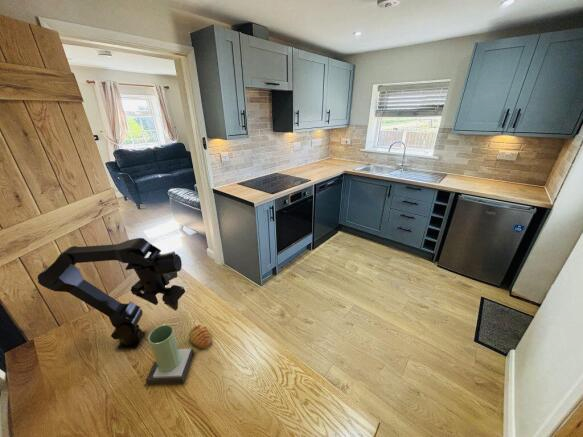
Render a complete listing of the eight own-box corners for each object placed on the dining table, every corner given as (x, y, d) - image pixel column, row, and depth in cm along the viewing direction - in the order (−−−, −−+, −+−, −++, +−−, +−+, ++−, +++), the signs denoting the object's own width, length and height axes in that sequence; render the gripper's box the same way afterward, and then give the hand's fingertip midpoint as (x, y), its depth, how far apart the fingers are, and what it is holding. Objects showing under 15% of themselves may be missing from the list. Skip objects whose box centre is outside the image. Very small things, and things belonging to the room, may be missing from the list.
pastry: (216, 342, 87) (214, 335, 85) (198, 354, 83) (196, 347, 81) (204, 327, 93) (202, 320, 92) (187, 337, 89) (185, 330, 87)
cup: (153, 372, 74) (143, 344, 68) (163, 352, 80) (154, 324, 74) (176, 372, 74) (167, 343, 68) (184, 351, 80) (176, 324, 75)
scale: (147, 384, 74) (144, 378, 72) (162, 354, 83) (160, 348, 81) (183, 383, 74) (181, 377, 73) (194, 353, 83) (192, 347, 82)
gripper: (188, 262, 81) (201, 294, 89) (148, 255, 87) (163, 285, 95) (163, 286, 72) (180, 319, 80) (120, 276, 78) (140, 308, 86)
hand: (166, 306), depth 85 cm, fingers open, 9 cm apart
